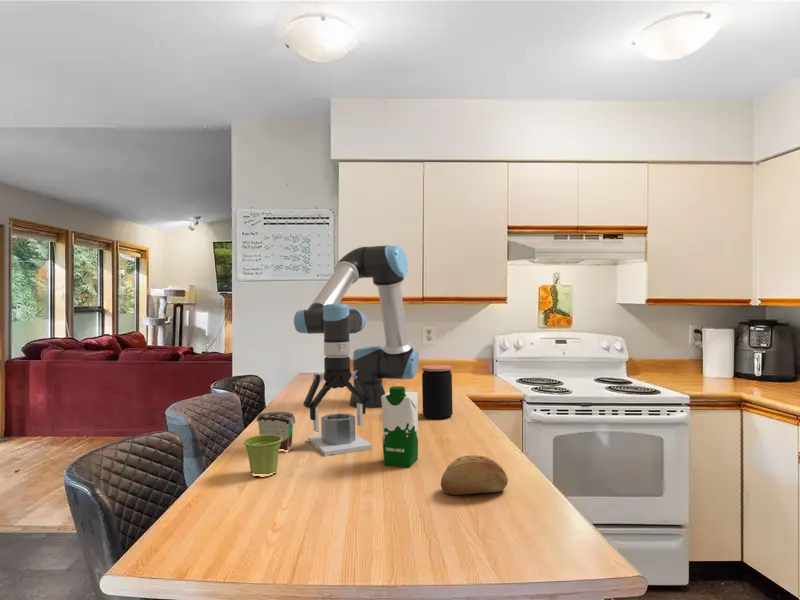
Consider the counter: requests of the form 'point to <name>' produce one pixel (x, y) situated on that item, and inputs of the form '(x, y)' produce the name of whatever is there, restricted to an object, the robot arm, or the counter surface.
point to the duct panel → (337, 449)
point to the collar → (338, 429)
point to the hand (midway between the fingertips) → (338, 428)
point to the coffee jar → (437, 392)
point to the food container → (277, 426)
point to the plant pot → (263, 453)
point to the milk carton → (400, 427)
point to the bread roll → (473, 476)
